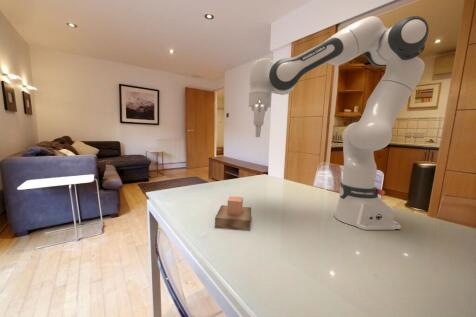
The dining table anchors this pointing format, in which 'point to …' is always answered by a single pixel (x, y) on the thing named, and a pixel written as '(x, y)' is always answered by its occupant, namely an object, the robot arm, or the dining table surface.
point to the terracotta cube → (235, 205)
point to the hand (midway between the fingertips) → (257, 136)
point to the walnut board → (233, 219)
